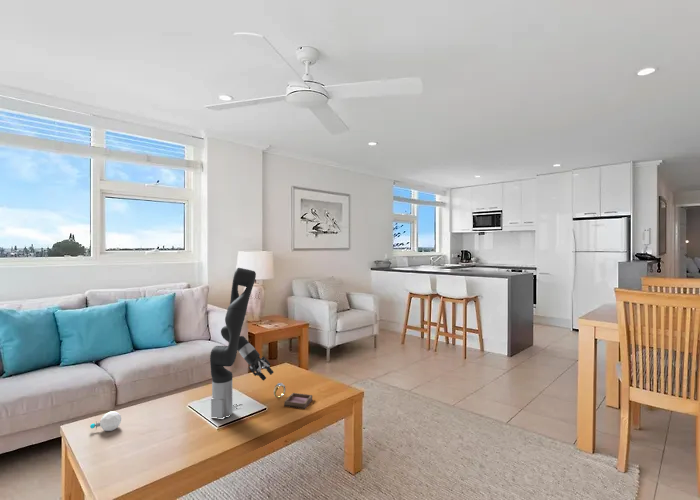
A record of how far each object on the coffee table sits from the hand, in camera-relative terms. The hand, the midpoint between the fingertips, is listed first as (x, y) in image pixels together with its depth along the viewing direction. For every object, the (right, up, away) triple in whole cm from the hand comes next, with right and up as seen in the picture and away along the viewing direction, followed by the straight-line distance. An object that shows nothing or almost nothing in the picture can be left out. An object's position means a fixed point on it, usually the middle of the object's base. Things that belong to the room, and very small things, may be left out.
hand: (268, 376), depth 200 cm
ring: (+6, -11, -1) cm, 13 cm away
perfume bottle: (-64, -12, -36) cm, 74 cm away
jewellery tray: (+17, -11, -7) cm, 22 cm away
